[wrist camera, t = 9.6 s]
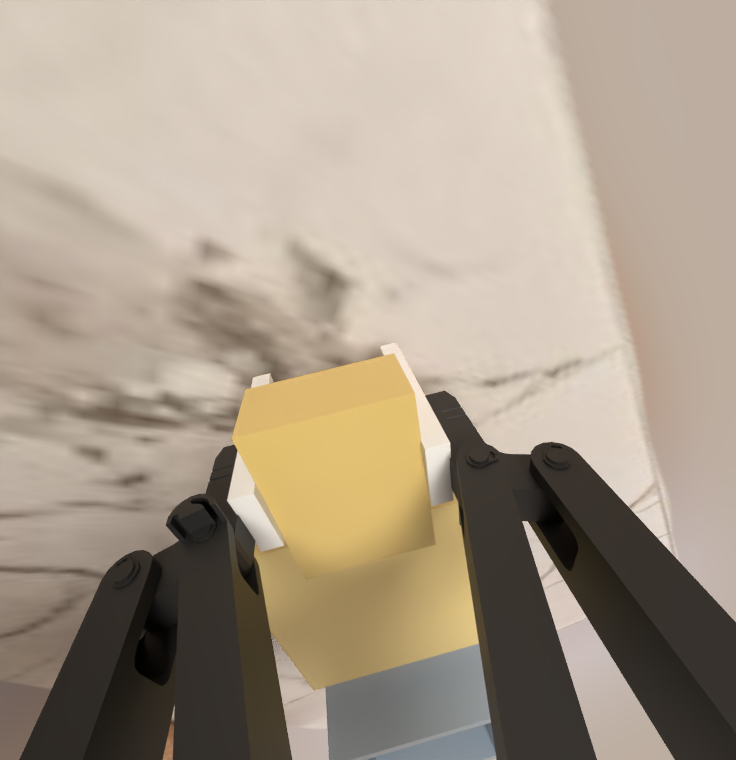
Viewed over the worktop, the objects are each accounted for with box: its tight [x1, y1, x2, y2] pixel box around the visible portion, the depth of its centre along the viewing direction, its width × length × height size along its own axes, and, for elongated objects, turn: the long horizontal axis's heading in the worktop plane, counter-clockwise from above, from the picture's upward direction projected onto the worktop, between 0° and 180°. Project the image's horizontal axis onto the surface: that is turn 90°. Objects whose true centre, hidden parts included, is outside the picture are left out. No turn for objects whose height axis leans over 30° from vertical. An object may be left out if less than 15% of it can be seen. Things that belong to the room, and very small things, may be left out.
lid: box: [232, 353, 479, 690], centre depth 16 cm, size 21×12×2 cm, turn 10°
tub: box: [326, 644, 496, 760], centre depth 29 cm, size 14×12×11 cm
